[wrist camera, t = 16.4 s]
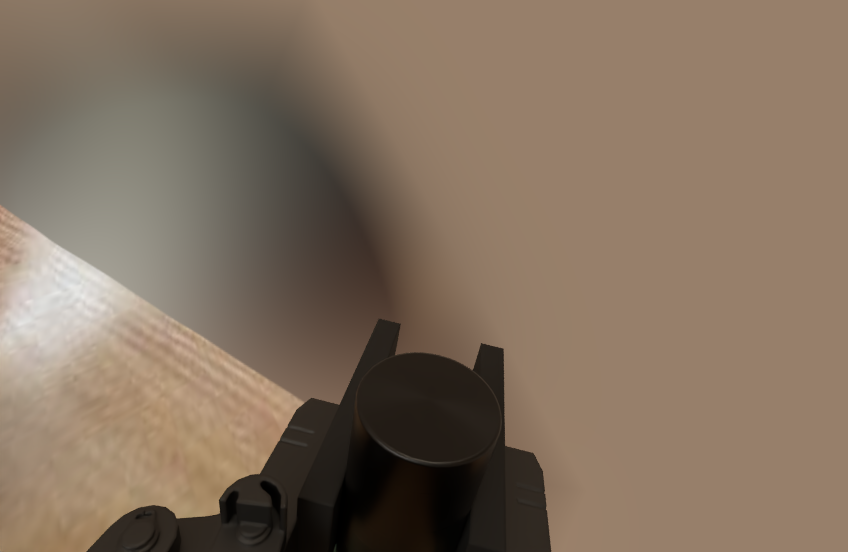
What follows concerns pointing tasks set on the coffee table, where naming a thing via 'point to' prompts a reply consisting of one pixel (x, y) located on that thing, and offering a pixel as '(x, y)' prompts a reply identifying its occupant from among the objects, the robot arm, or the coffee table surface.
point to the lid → (416, 454)
